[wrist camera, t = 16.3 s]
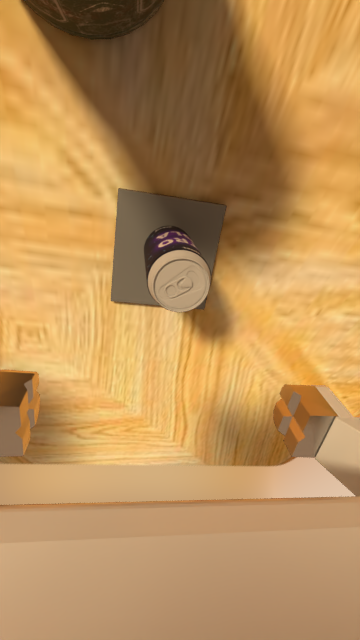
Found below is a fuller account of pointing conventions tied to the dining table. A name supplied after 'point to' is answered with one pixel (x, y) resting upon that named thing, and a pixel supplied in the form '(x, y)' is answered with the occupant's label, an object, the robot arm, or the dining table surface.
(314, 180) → the dining table surface
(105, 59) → the dining table surface
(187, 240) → the beverage can
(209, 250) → the mat
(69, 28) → the canister
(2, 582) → the robot arm
